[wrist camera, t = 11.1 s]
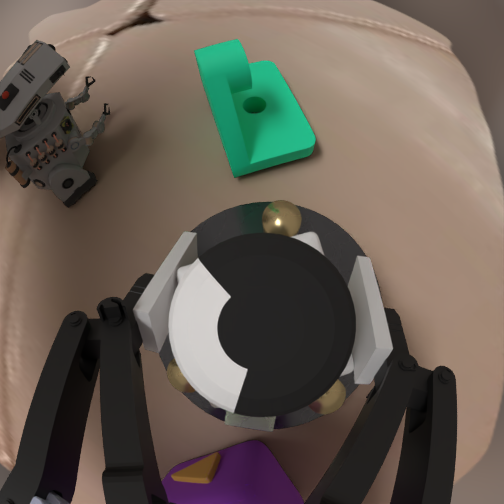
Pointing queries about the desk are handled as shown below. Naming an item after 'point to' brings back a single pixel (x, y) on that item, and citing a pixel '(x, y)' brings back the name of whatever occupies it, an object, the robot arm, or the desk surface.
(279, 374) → the medicine bottle
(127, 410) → the robot arm
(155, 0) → the desk surface
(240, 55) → the camera mount
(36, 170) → the figurine
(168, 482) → the toy camera
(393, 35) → the desk surface
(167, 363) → the plate
